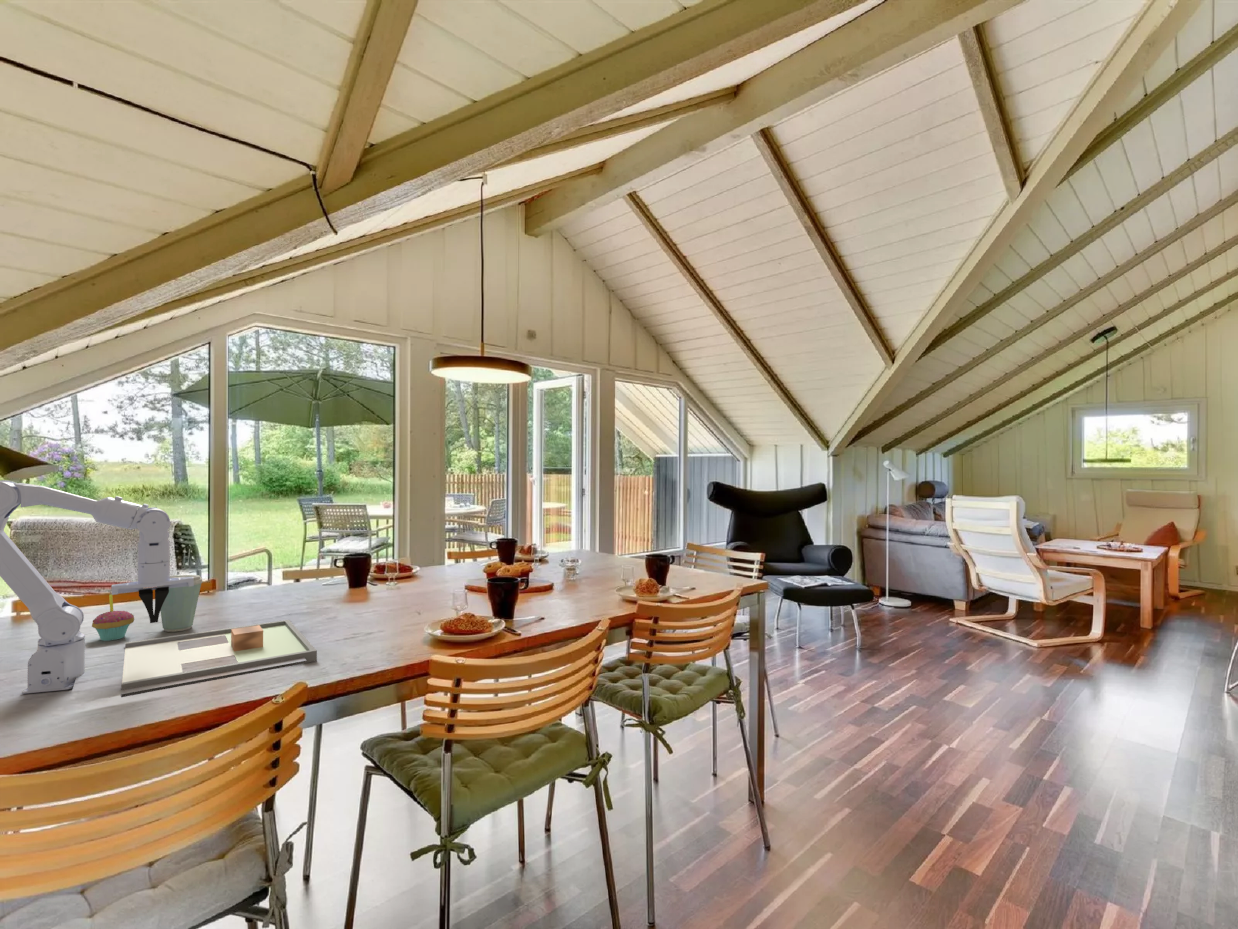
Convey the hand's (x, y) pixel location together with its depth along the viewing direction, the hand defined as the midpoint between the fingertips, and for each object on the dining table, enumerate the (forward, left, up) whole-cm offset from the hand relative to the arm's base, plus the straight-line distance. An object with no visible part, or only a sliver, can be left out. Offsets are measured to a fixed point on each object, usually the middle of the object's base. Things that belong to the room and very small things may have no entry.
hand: (154, 621), depth 133 cm
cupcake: (+30, +19, -11) cm, 37 cm away
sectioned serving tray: (+4, -11, -10) cm, 16 cm away
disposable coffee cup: (+35, +6, -11) cm, 37 cm away
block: (+6, -17, -9) cm, 20 cm away
